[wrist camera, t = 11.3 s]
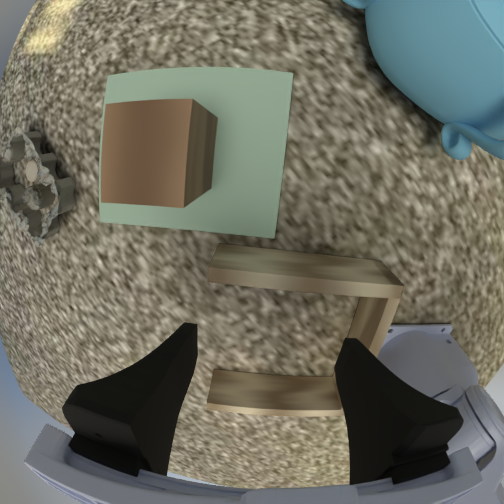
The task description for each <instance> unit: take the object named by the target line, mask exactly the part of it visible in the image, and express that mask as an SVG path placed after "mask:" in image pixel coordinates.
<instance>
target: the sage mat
mask: <svg viewBox="0 0 504 504" xmlns="http://www.w3.org/2000/svg"><path fill="white" fill-rule="evenodd" d="M292 80H293V73H289V72H281V71H273V70H262V69H250V68H232V67H185V68H167V69H154V70H145V71H136V72H129V73H122V74H115V75H110V76H108V79H107V85H106V92H105V99H104V107H103V116H102V127H101V140H100V160H99V208H100V222H106V223H118V224H130V225H141V226H152V227H163V228H174V229H185V230H195V231H205V232H215V233H225V234H235V235H244V236H254V237H263V238H272V239H275V231H276V223H277V215H278V207H279V199H280V191H281V182H282V174H283V165H284V157H285V148H286V139H287V130H288V120H289V110H290V101H291V91H292ZM157 99H194V100H195V101H196V102H198V103H199V104H201V105H202V106H203V107H205V108H206V109H207V110H208V111H210V112H211V113H212V114H214V115H215V116H216V117H218V122H217V132H216V142H215V152H214V163H213V174H212V187H211V189H210V190H208V191H207V192H206V193H204V194H203V195H201V196H200V197H199V198H197V199H196V200H194V201H193V202H192V203H190V204H189V205H187V206H186V207H185V208H174V207H161V206H147V205H133V204H116V203H101V154H102V138H103V125H104V115H105V107H106V104H110V103H119V102H129V101H141V100H157Z"/></svg>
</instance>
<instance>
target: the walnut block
mask: <svg viewBox="0 0 504 504" xmlns="http://www.w3.org/2000/svg"><path fill="white" fill-rule="evenodd" d="M217 122H218V117H216V116H215V115H214V114H212V113H211V112H210V111H208V110H207V109H206V108H205V107H203V106H202V105H201V104H199V103H198V102H196V101H195V100H194V99H157V100H141V101H129V102H119V103H110V104H106V107H105V115H104V125H103V138H102V154H101V203H116V204H133V205H147V206H161V207H174V208H185V207H186V206H187V205H189V204H190V203H192V202H193V201H194V200H196V199H197V198H199V197H200V196H201V195H203V194H204V193H206V192H207V191H208V190H210V189H211V187H212V174H213V163H214V152H215V142H216V132H217Z"/></svg>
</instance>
